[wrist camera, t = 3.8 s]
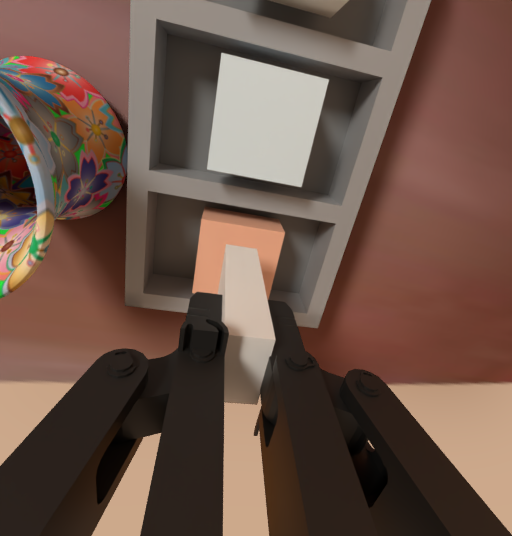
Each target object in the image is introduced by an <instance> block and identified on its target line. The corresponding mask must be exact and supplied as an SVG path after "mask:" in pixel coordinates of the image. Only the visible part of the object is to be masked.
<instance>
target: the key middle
mask: <svg viewBox="0 0 512 536" xmlns="http://www.w3.org/2000/svg"><path fill="white" fill-rule="evenodd" d="M328 82H329V79H325V78H321V77H317V76H313V75H309V74H305V73H301V72H297V71H293V70H289V69H285V68H281V67H277V66H273V65H269V64H265V63H261V62H257V61H253V60H249V59H245V58H241V57H237V56H233V55H229V54H225V53H221V61H220V69H219V77H218V85H217V93H216V101H215V109H214V117H213V125H212V133H211V141H210V149H209V157H208V165H207V169H208V170H213V171H218V172H224V173H229V174H234V175H239V176H245V177H250V178H255V179H260V180H266V181H271V182H276V183H281V184H287V185H292V186H297V187H302V183H303V179H304V175H305V171H306V167H307V164H308V160H309V156H310V152H311V148H312V144H313V140H314V136H315V132H316V129H317V125H318V121H319V117H320V113H321V109H322V105H323V101H324V98H325V94H326V90H327V86H328Z"/></svg>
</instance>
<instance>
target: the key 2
mask: <svg viewBox="0 0 512 536" xmlns="http://www.w3.org/2000/svg"><path fill="white" fill-rule="evenodd" d="M269 1H272V2H276V3H279V4H283V5H286V6H290V7H294V8H297V9H301V10H304V11H308V12H311V13H315V14H318V15H322V16H325V17H329V18H331V17H332V16H333V15H334V14H335V13H336V12H337V11H338V10H340V9H341V8H342V7H343V6H344V5H345V4H346V3H347V2H348V1H349V0H269Z"/></svg>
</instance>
